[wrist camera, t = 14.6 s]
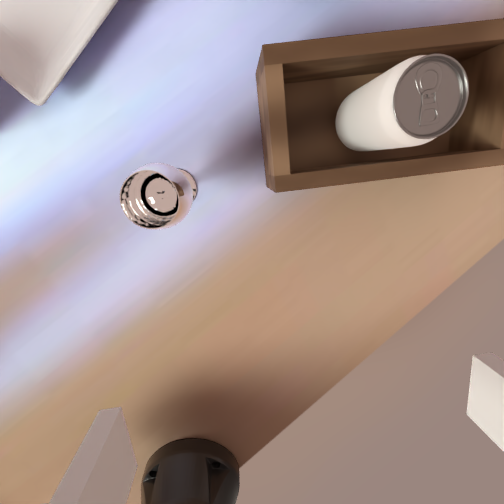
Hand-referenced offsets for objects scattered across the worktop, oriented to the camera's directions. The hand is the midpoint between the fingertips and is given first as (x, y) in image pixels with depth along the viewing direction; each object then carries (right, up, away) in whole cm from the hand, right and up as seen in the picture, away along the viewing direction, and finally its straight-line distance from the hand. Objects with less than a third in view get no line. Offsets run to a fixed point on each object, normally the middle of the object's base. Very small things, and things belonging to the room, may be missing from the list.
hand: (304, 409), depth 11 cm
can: (+10, +21, +22) cm, 32 cm away
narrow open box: (+11, +21, +23) cm, 33 cm away
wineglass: (-11, +13, +24) cm, 29 cm away
